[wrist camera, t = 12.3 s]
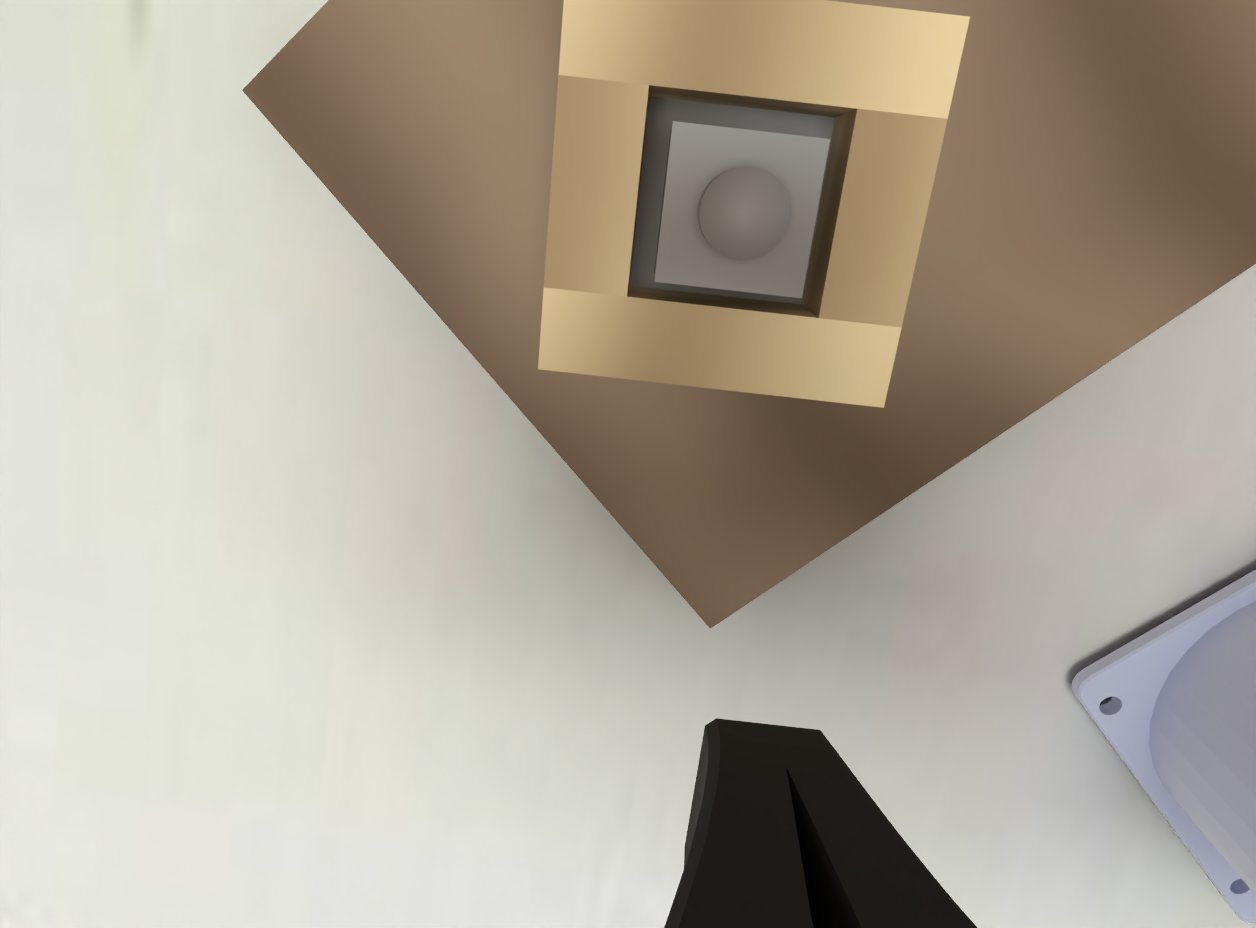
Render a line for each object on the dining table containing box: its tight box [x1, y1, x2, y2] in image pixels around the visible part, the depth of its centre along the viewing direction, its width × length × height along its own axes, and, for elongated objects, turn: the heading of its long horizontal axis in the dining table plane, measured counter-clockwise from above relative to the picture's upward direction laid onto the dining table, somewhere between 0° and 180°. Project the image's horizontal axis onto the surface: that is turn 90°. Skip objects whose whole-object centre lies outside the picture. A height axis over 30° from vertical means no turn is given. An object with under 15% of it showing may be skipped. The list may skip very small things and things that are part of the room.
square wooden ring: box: [538, 0, 970, 408], centre depth 13 cm, size 6×6×2 cm
